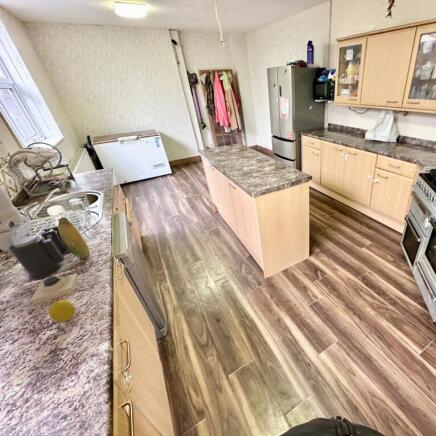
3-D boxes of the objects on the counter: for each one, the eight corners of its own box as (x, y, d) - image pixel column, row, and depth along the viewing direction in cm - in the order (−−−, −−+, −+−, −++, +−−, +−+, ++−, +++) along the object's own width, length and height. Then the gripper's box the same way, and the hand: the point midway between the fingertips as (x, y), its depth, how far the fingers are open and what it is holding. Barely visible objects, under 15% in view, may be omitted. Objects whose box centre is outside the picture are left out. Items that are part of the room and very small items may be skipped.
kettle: (26, 284, 90) (-1, 251, 82) (35, 269, 97) (11, 238, 90) (65, 272, 95) (42, 241, 87) (71, 259, 102) (51, 229, 94)
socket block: (34, 304, 80) (27, 296, 78) (42, 288, 87) (36, 280, 85) (73, 292, 85) (68, 284, 83) (79, 277, 92) (73, 269, 90)
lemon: (53, 325, 73) (38, 308, 69) (71, 311, 77) (58, 294, 73) (66, 329, 71) (52, 311, 67) (84, 314, 76) (71, 296, 72)
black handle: (43, 261, 102) (26, 239, 96) (49, 250, 109) (34, 229, 103) (77, 252, 107) (63, 230, 101) (81, 242, 114) (68, 221, 108)
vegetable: (95, 255, 104) (73, 216, 94) (79, 264, 99) (53, 224, 89) (89, 252, 107) (66, 213, 97) (73, 260, 102) (47, 220, 92)
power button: (44, 288, 82) (41, 284, 81) (47, 281, 85) (45, 278, 84) (57, 284, 84) (54, 280, 83) (60, 278, 86) (57, 274, 86)
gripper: (6, 211, 101) (25, 238, 107) (-19, 233, 85) (4, 262, 92) (26, 208, 103) (43, 234, 110) (5, 228, 88) (26, 257, 94)
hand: (25, 247), depth 101 cm, fingers open, 8 cm apart
